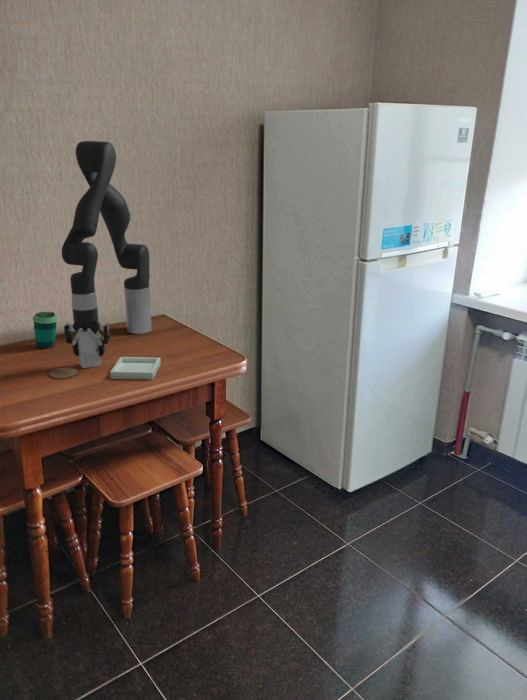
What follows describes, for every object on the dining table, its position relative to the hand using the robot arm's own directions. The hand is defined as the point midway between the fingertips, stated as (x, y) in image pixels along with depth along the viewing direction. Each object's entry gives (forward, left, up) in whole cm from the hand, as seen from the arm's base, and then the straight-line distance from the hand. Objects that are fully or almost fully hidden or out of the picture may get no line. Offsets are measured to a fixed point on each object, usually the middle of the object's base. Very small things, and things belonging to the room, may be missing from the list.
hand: (89, 355), depth 183 cm
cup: (-17, -20, -4) cm, 27 cm away
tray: (+4, +16, -3) cm, 17 cm away
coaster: (+8, -6, -3) cm, 11 cm away
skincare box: (0, 0, -4) cm, 4 cm away
